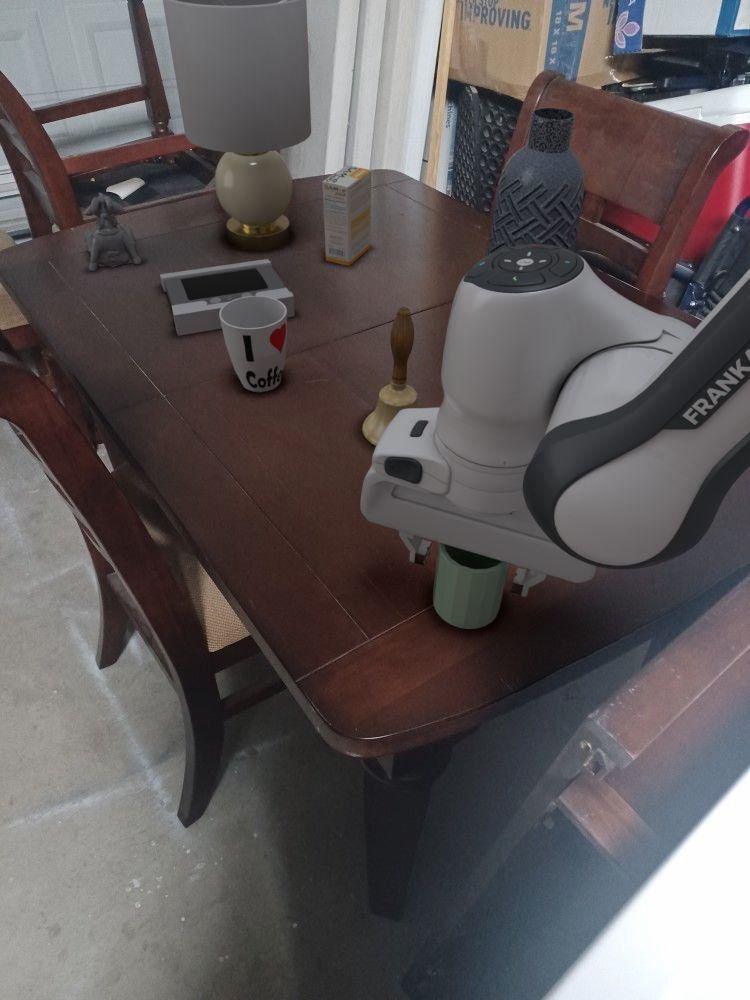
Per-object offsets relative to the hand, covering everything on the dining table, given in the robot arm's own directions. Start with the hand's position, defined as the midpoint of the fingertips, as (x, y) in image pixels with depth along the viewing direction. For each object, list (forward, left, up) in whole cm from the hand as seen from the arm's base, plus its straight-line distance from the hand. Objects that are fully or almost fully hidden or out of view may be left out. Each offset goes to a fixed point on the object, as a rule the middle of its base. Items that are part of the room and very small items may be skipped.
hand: (468, 574), depth 63 cm
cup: (+35, -25, -4) cm, 43 cm away
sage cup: (0, 0, -4) cm, 4 cm away
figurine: (+75, -48, -4) cm, 89 cm away
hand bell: (+15, -22, -4) cm, 27 cm away
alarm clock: (+50, -42, -4) cm, 65 cm away
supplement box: (+39, -64, -4) cm, 75 cm away
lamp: (+56, -64, -4) cm, 85 cm away
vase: (+7, -52, -4) cm, 53 cm away
